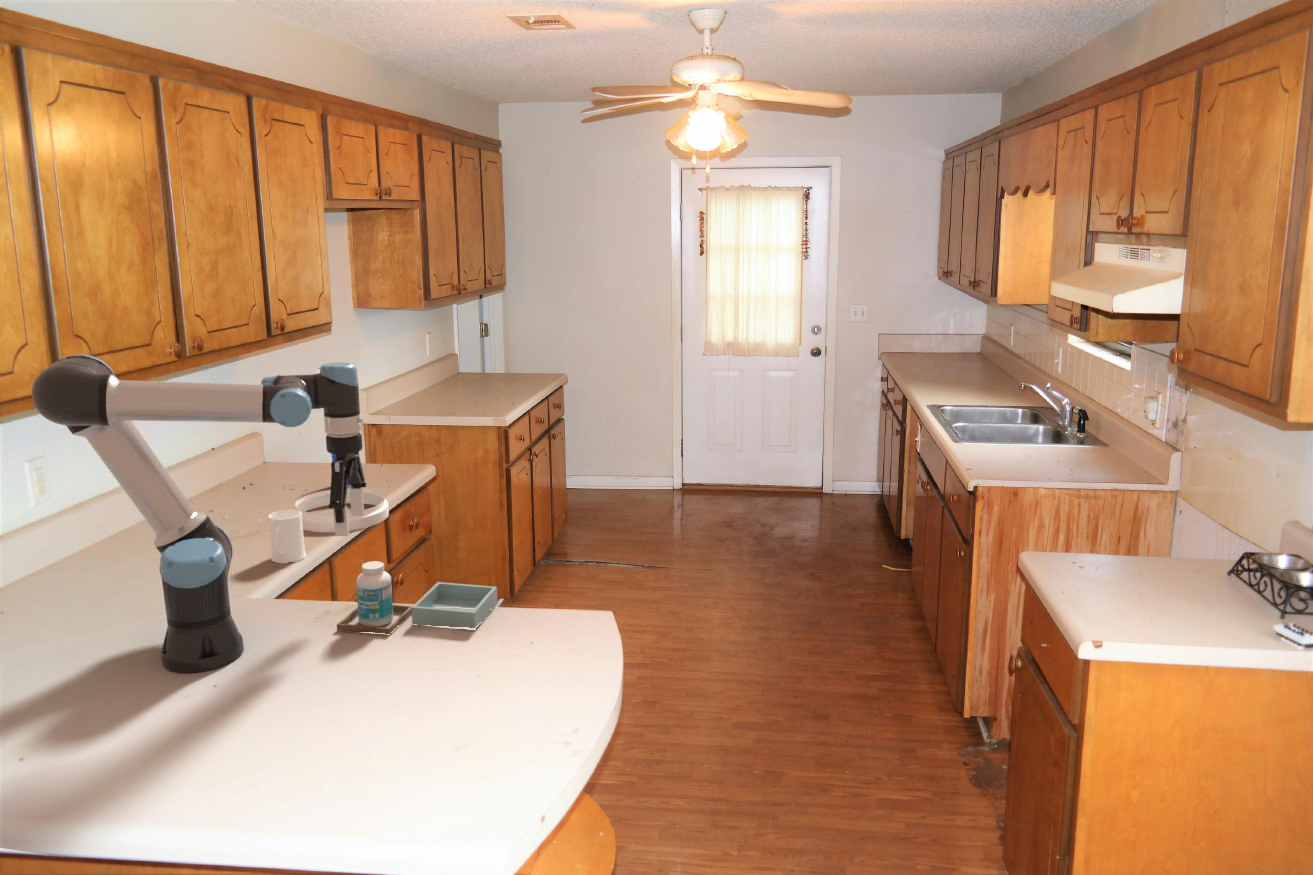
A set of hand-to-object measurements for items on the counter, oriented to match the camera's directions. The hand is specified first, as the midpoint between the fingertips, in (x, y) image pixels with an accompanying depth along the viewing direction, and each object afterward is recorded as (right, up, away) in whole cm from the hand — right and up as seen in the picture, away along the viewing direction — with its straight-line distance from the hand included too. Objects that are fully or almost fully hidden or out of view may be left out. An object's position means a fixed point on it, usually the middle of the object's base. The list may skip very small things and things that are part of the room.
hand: (350, 525), depth 208 cm
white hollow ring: (-25, -4, +68) cm, 73 cm away
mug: (-28, -12, +34) cm, 46 cm away
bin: (+23, -20, +3) cm, 31 cm away
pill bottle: (+6, -21, -1) cm, 22 cm away
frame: (+6, -21, -1) cm, 22 cm away
